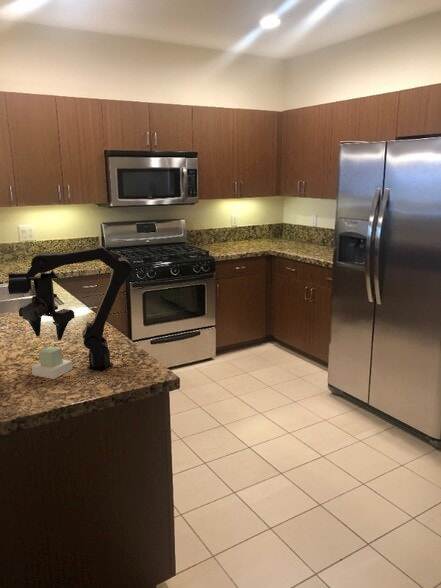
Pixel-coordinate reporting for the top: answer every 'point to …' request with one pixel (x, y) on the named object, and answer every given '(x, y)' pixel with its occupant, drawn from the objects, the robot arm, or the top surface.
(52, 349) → the cube
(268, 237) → the top surface
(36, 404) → the top surface
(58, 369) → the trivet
